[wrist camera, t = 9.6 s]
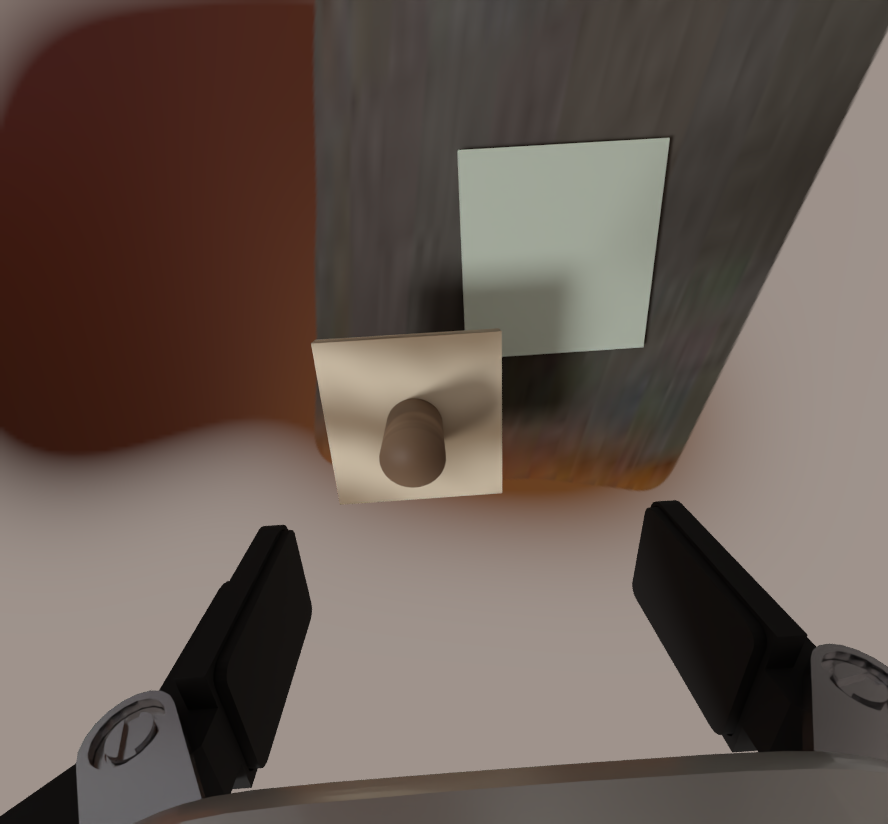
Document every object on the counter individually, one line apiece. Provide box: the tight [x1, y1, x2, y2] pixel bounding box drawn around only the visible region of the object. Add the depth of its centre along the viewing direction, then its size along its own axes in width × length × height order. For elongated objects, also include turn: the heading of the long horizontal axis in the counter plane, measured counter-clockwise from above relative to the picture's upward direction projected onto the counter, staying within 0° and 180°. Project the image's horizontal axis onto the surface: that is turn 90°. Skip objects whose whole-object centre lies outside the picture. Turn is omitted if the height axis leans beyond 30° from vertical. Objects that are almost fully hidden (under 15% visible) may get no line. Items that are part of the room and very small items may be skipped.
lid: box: [311, 328, 502, 505], centre depth 24 cm, size 11×11×6 cm
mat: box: [458, 138, 670, 357], centre depth 30 cm, size 14×14×1 cm
